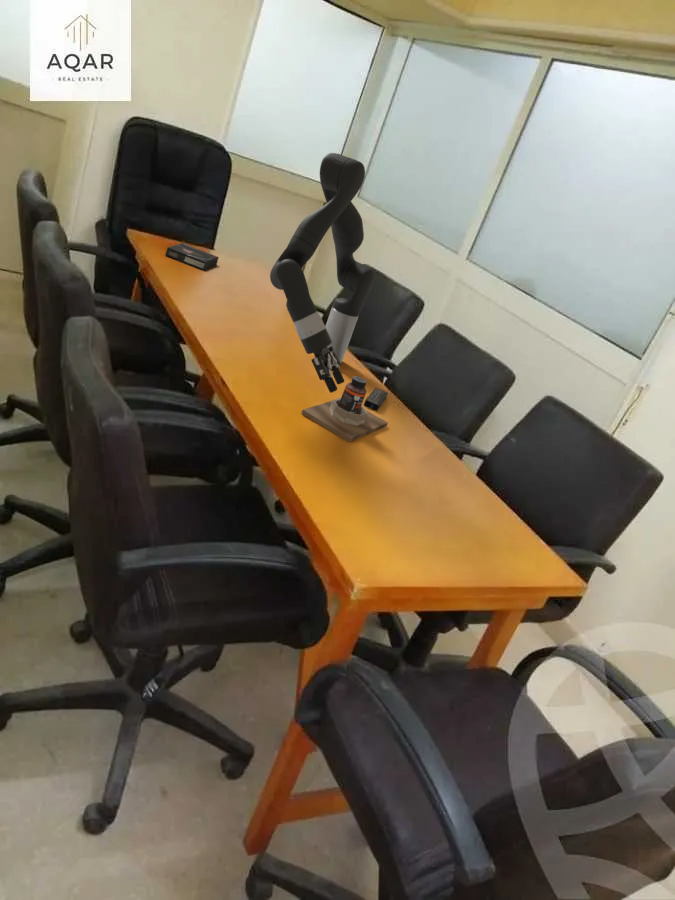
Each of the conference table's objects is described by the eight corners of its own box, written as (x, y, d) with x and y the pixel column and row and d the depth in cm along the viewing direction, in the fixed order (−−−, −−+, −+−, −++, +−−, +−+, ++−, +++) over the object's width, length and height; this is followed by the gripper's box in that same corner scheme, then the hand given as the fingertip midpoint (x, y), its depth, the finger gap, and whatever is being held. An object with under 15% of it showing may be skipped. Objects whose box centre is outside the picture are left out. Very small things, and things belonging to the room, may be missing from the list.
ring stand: (341, 400, 202) (346, 388, 200) (386, 426, 196) (391, 413, 194) (301, 413, 183) (305, 399, 181) (349, 442, 177) (355, 428, 176)
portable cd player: (164, 257, 277) (166, 247, 276) (180, 252, 293) (182, 243, 291) (202, 271, 277) (204, 262, 275) (216, 266, 293) (218, 257, 291)
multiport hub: (385, 399, 217) (388, 392, 216) (376, 412, 204) (378, 405, 203) (373, 393, 218) (375, 387, 217) (362, 406, 204) (365, 399, 203)
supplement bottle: (353, 423, 186) (368, 386, 182) (333, 415, 187) (347, 378, 182) (357, 416, 192) (371, 380, 187) (338, 408, 192) (351, 372, 187)
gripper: (317, 332, 175) (344, 389, 179) (331, 322, 188) (355, 375, 192) (292, 343, 178) (319, 399, 182) (307, 332, 191) (331, 385, 194)
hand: (337, 387), depth 187 cm, fingers open, 8 cm apart
